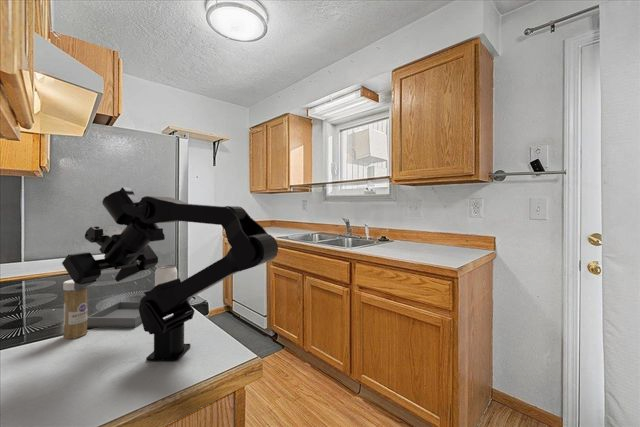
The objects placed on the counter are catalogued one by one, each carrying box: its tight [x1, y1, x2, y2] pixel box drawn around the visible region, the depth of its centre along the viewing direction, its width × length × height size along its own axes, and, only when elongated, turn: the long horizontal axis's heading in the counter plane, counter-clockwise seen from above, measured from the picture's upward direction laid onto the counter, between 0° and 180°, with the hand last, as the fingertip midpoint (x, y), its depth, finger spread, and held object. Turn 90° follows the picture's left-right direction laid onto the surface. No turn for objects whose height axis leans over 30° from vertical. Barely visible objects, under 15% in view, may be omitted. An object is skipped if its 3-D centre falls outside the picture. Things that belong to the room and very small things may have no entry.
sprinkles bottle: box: [62, 279, 89, 340], centre depth 69 cm, size 5×5×14 cm
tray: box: [87, 301, 143, 329], centre depth 80 cm, size 13×13×2 cm
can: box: [154, 264, 178, 287], centre depth 94 cm, size 6×6×12 cm
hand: (97, 284), depth 67 cm, fingers open, 9 cm apart
